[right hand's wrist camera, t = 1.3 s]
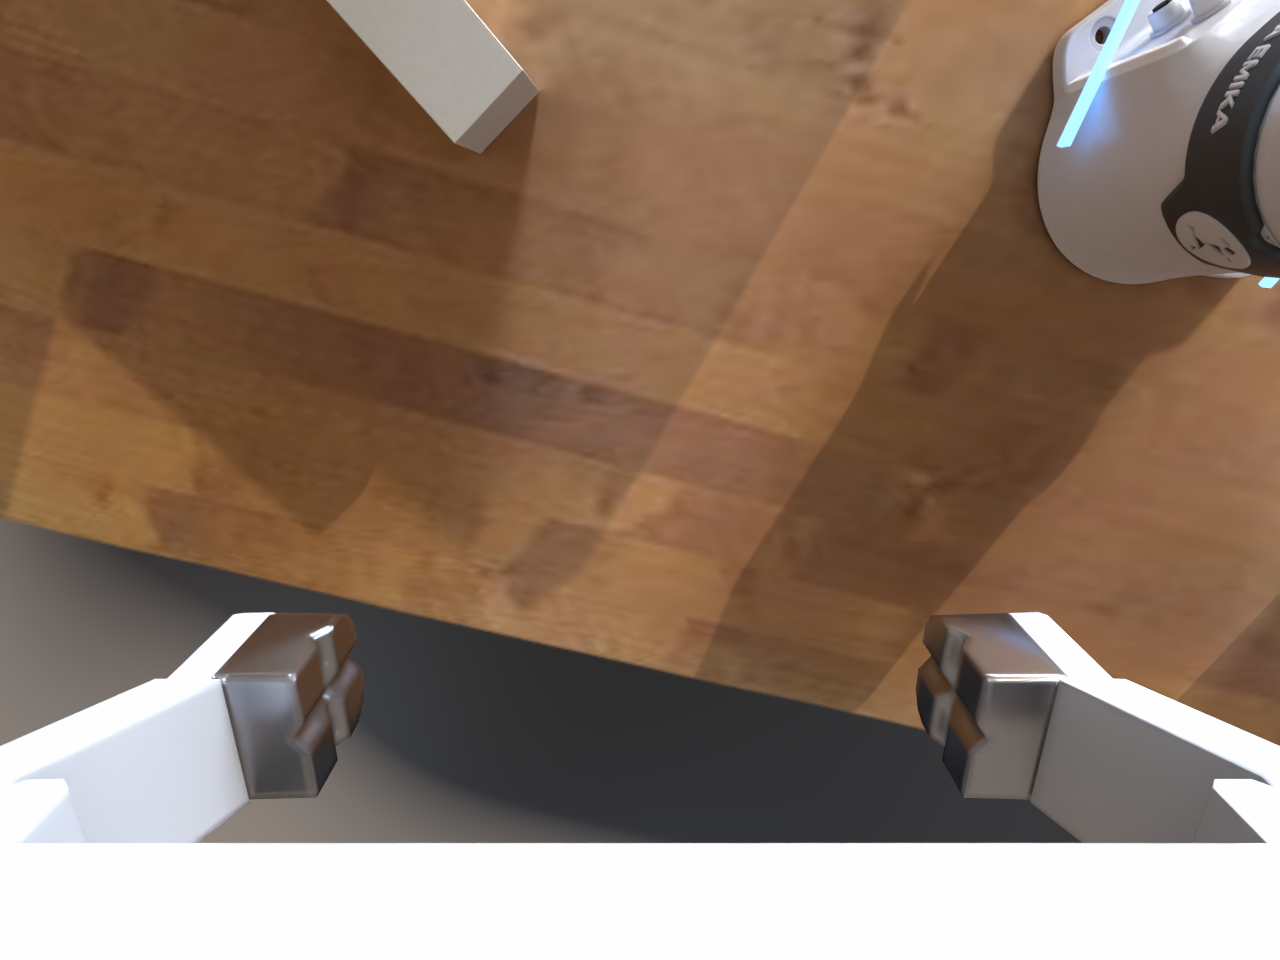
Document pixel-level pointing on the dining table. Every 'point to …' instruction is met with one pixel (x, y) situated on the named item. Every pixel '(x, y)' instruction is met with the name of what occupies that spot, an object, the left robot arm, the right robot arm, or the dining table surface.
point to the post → (444, 63)
